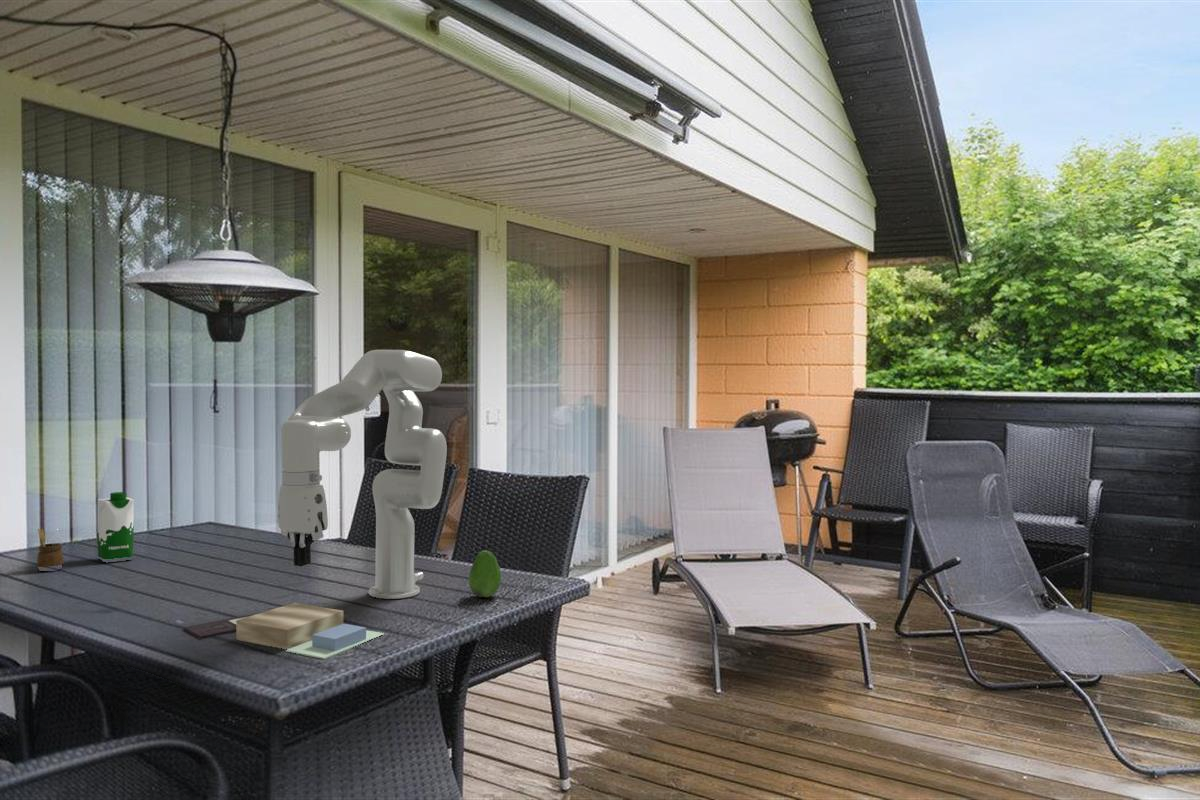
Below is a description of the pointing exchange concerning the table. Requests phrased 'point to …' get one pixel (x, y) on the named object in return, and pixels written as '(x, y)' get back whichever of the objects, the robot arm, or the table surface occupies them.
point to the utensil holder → (49, 553)
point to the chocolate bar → (214, 627)
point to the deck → (287, 625)
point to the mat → (324, 653)
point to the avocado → (485, 575)
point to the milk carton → (115, 526)
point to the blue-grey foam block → (339, 637)
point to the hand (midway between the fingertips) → (302, 564)
